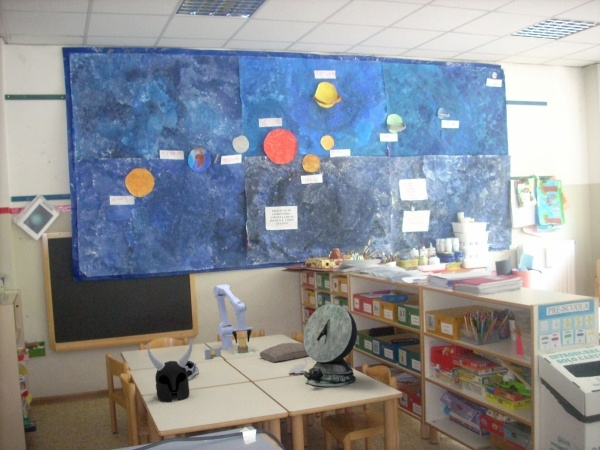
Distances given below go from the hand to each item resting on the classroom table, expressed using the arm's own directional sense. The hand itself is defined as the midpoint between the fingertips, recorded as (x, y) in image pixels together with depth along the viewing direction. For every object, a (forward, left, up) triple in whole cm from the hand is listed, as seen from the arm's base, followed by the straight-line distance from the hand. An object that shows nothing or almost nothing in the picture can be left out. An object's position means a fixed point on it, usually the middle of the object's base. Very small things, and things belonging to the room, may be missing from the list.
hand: (242, 342), depth 406 cm
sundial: (+93, +32, -8) cm, 99 cm away
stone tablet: (+24, +24, -8) cm, 35 cm away
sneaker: (+44, -38, -8) cm, 59 cm away
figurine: (+69, +23, -8) cm, 73 cm away
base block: (0, 0, -6) cm, 6 cm away
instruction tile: (+4, -20, -7) cm, 22 cm away
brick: (0, 0, -2) cm, 2 cm away
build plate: (0, 0, -7) cm, 7 cm away
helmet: (+81, -48, -7) cm, 94 cm away
